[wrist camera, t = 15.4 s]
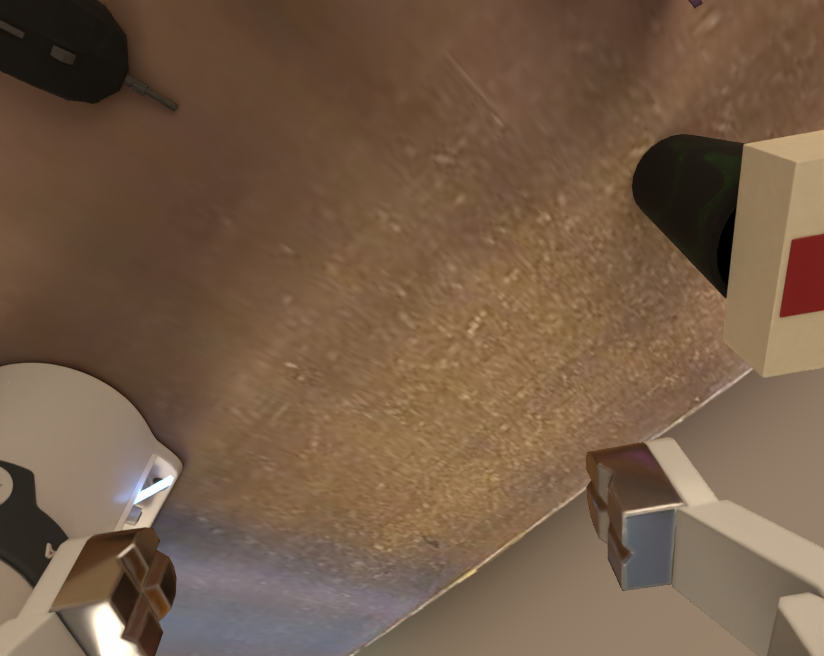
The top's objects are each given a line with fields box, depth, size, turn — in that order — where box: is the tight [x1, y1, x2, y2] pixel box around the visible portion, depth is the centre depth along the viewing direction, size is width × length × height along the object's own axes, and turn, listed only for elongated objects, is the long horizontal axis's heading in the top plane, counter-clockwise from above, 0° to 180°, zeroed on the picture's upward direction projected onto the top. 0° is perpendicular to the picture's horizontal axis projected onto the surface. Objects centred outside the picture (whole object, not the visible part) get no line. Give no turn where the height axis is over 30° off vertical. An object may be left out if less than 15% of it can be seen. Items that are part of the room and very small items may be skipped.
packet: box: [722, 130, 824, 378], centre depth 26 cm, size 10×6×4 cm, turn 9°
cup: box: [632, 134, 744, 298], centre depth 33 cm, size 8×8×12 cm
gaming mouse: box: [0, 0, 177, 111], centre depth 30 cm, size 6×15×4 cm, turn 56°
